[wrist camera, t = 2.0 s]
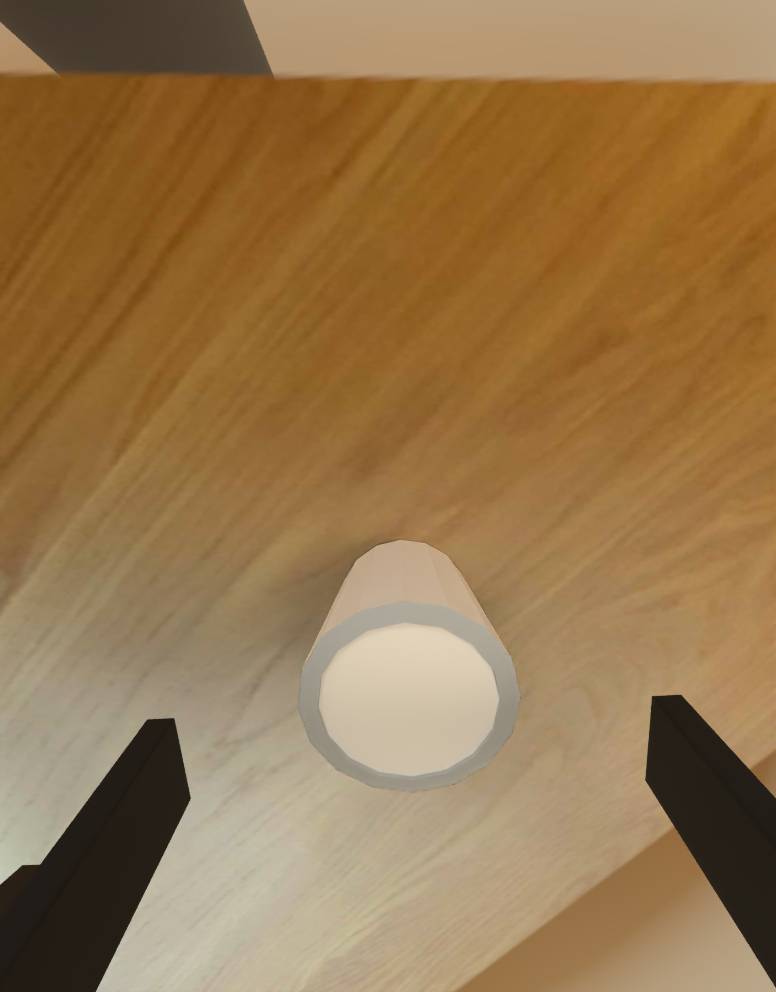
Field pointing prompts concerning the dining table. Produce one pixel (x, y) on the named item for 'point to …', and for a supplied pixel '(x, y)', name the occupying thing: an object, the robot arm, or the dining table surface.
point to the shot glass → (407, 674)
